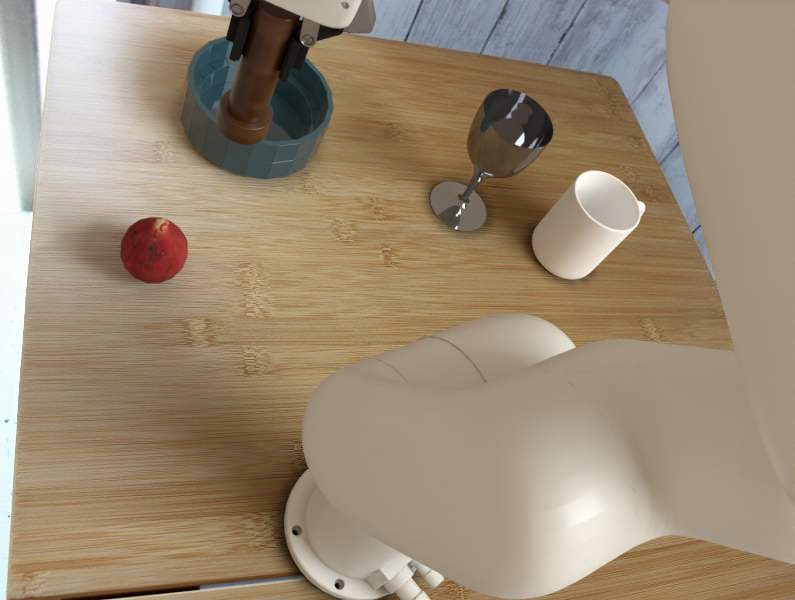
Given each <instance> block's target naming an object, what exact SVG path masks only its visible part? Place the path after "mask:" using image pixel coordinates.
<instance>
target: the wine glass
mask: <svg viewBox="0 0 795 600" xmlns="http://www.w3.org/2000/svg"><path fill="white" fill-rule="evenodd" d="M553 137H554V125H553V122H552V119H551V117H550V115H549V114H548V113H547V111H546V110H545V109H544V107H543V106H542V104H540V103H538V102H537V101H536V100H535V99H534V98H533V97H531V96H529V95H527V94H526V93H523V92H521V91H520V90H519V91H518V90H516V89H510V88H499V89H494V90H492V91H491V92H489V93H488V94H487V95H486V97H485V98H484V99H483V100H482V102H481V104H480V105H479V107H478V109H477V111H476V112H475V114H474V116H473V119H472V122H471V124H470V127H469V130H468V134H467V139H466V149H467V153H468V157H469V159H470V162H471V164H472V166H473V174H472V177H471V179H470V181H469V183H468V185H465V184H463V183H461V182H457V181H443V182H440V183H438V184H436V185H435V186H434V187H433V188H432V189H431V191H430V196H429V203H430V207H431V209H432V211H433V213H434V215H435V216H436V217H437V219H438V220H439V221H441V223H443V224H444V225H445V226H447V227H449V228H451V229H452V230H455V231H459V232H462V233H463V232H464V233H470V232H474V231H477V230H479V229H481V228H482V227H483V226H484V224H485V222H486V220H487V209H486V205H485V203H484V201H483V200H482V198H481V197H480V195H479V194H478V193H477V192H476V191H475V190H476V189H477V187H478V186H479V185H480V184H481V183H482V182H483V181H485V180H488V179H508V178H511V177H514V176H516V175H518V174H521V172H523V171H524V170H526V169H527V168H528V167H530V166H531V165H532V164H533V163H534V162H535V161H536V160H537V159H538V158H539V157H540V155H541V154H542V153H543V152H544V150H545V149H546V148H547V147H548V145H549V144H550V142H552V139H553Z"/></svg>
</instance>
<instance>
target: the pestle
mask: <svg viewBox="0 0 795 600" xmlns="http://www.w3.org/2000/svg"><path fill="white" fill-rule="evenodd" d="M300 18H301V16H299V15H297V14H295V13H292V12H290V11H288V10H285V9H283V8H281V7H278V6H276V5H274V4H272V3H269V2H267V1H265V0H257V3H256V6H255V9H254V13H253V18H252V21H251V25H250V28H249V31H248V35H247V38H246V42H245V45H244V49H243V52H242V55H241V58H240V61H239V65H238V68H237V72H236V75H235V78H234V82H233V85H232V89H231V90H229V91H227V92H226V93H224V94H223V96H222V97H221V99H220V103H219V106H218V110H217V114H216V118H215V121H216V125H217V128H218V129H219V131H220V132H221V134H222V135H223V136H225V137H226V138H227V139H229V140H231V141H232V142H235V143H238V144H242V145H253V144H256V143H259V142H261V141H262V140H263V139H264V138H265V137H266V135H267V133H268V130H269V127H270V125H271V122H272V119H273V109H272V106H271V104H270V102H271V99H272V96H273V93H274V91H275V88H276V85H277V82H278V79H279V78H278V76H279V74H280V71H281V68H282V65H283V62H284V59H285V56H286V53H287V51H288V48H289V45H290V42H291V39H292V37H293V34H294V32H295V30H296V28H297V25H298V22H299V19H300ZM300 20H301V19H300Z"/></svg>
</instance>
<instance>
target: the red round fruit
mask: <svg viewBox="0 0 795 600" xmlns="http://www.w3.org/2000/svg"><path fill="white" fill-rule="evenodd" d="M188 245H189V244H188V238H187V237H186V235H185V233H184V232H183V230H182V229H181V228H180V227H179V226H178V225H177V224H175V223H174V222H173V221H171V220H168V219H166V218H164V217H157V216H149V217H145V218H140V219H138V220H137V221H135V222H134V223H132V224H131V225H130V226H129V227H128V228H127V229H126V231H125V232H124V235H123V236H122V239H121V242H120V250H119V255H120V259H121V262H122V265H123V267H124V268H125V270H126V271H127V272H128V273H129V274H130V276H132V277H133V278H134V279H136V280H138V281H140V282H143V283H145V284H161V283H164V282H166V281H167V282H168V281H169V280H172V279H173V278H174V277H176V276H177V275H178V274H179V273H181V271H182V270H183V269H184V267H185V264H186V262H187V259H188V256H189V255H188V254H189V247H188Z"/></svg>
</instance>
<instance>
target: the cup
mask: <svg viewBox="0 0 795 600" xmlns="http://www.w3.org/2000/svg"><path fill="white" fill-rule="evenodd" d="M645 211H646V205H645V203H644V202H643V201H641V200H638V199H637V197H636V195H635V194H634V192H633V191H632V190H631V188H630V187H629V186H628V185H626V184H625V182H623V181H622V180H621V179H619V178H618V177H616V176H614V175H612V174H611V173H608V172H605V171H602V170H593V169H592V170H587V171H583V172H582V173H581V174H579V175H578V176H577V177H576V178H575V179H574V181H573V182H572V183H571V184H570V186H569V187H568V188H567V189H566V190H565V191H564V193H563V194H562V195H561V196H560V197H559V199H558V200H557V201H556V202H555V203H554V205H553V206H552V207H551V208H550V210H549V211H548V212H547V213H546V214H545V215H544V216H543V218H542V219H541V220H540V221H539V223H538V224H537V225H536V227H535V228H534V230H533V231H532V232H533V233H532V237H531V247H532V251H533V253H534V256H535V258H536V259H537V261H538V262H539V263H540V265H541V266H542V267H543V268H544V269H545V270H547V272H549V273H551V274H553V275H554V276H556V277H558V278H561V279H563V280H579V279H582V278H584V277H586V276H587V275H589V274H590V273H592V271H594V270H595V269H596V268H597V267H598V266H599V265H600V264H601V263H602V262H603V261H604V260H605V259H606V258H607V257H608V256H609V255H610V254H611V253H612V252H613V251H614V250H615V249H616V248H617V247H618V246H619V245H620V244H621V243H622V242H623V241H624V240H625V239H626V238H627V237H628V236H629V235H630V234H631V233H632V232H633V231H634V230H635V229H636V228H637V227H638V225H639V223H640V221H641V218H642V216H643V215H644V213H645Z"/></svg>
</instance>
